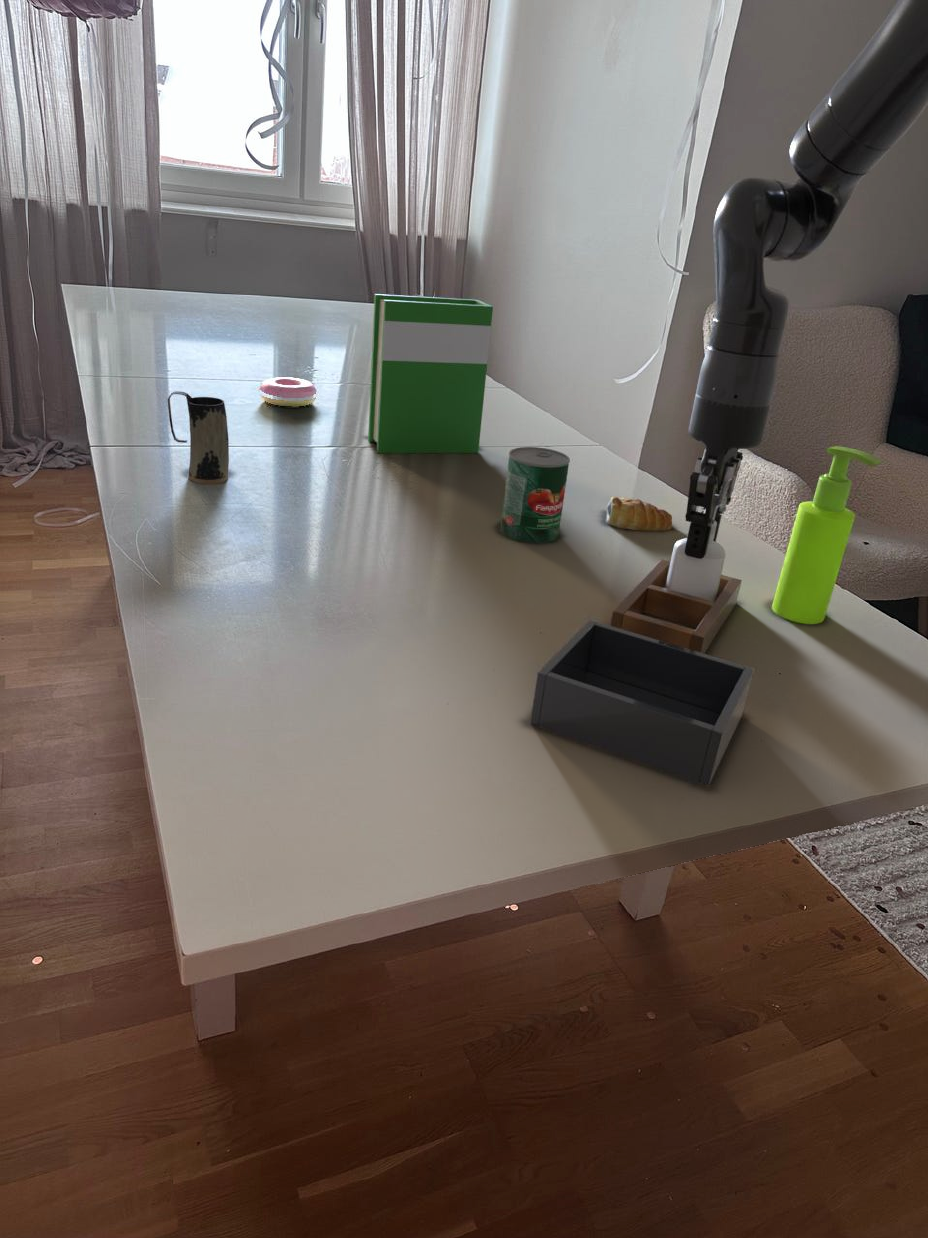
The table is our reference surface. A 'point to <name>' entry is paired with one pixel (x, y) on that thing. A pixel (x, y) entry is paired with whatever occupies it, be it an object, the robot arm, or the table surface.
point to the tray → (675, 611)
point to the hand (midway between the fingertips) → (699, 549)
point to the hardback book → (428, 373)
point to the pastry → (637, 515)
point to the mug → (206, 439)
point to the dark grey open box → (643, 699)
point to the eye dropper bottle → (696, 570)
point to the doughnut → (288, 391)
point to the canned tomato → (534, 494)
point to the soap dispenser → (818, 543)
